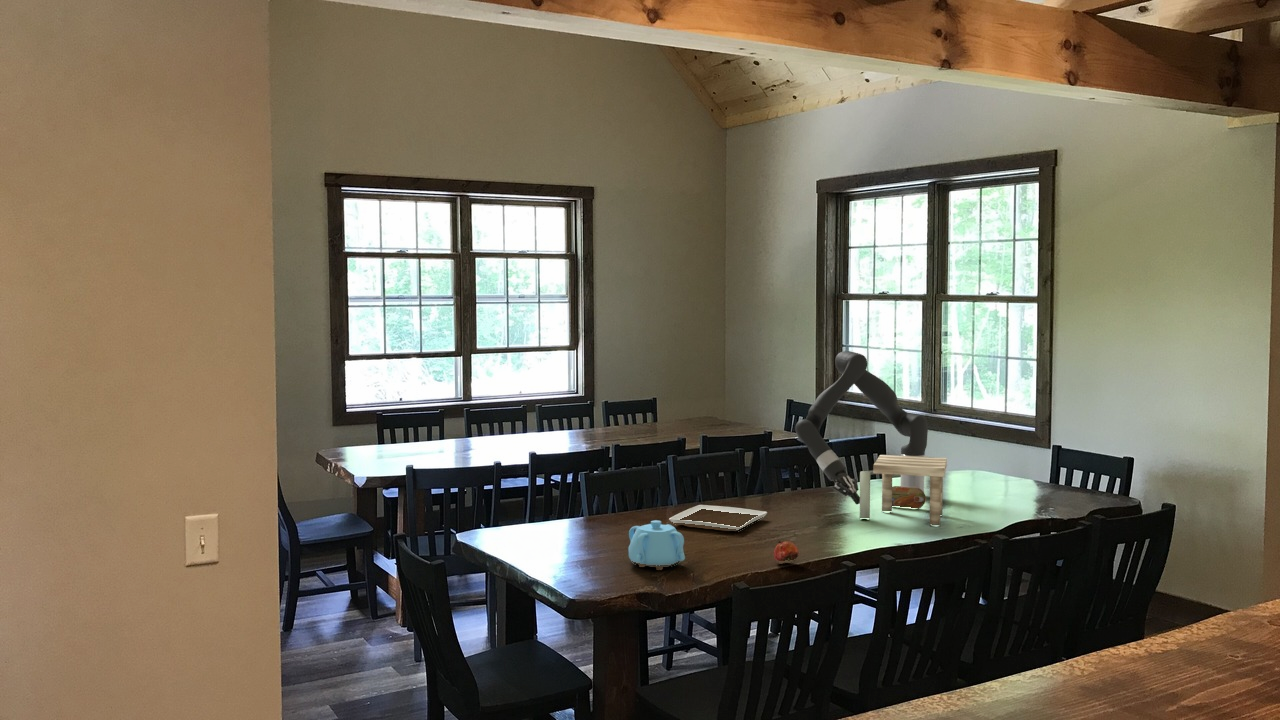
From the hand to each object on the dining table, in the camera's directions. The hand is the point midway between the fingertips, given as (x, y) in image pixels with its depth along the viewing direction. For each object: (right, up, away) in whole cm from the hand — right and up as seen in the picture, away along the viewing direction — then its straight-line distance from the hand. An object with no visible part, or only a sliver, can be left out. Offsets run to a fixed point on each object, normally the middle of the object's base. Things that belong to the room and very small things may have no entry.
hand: (859, 502), depth 372 cm
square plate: (-51, -7, -6) cm, 52 cm away
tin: (+21, -5, +19) cm, 29 cm away
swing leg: (+6, -5, +1) cm, 8 cm away
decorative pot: (-74, -10, -63) cm, 98 cm away
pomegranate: (-35, -10, -62) cm, 72 cm away
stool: (+18, -6, 0) cm, 19 cm away
